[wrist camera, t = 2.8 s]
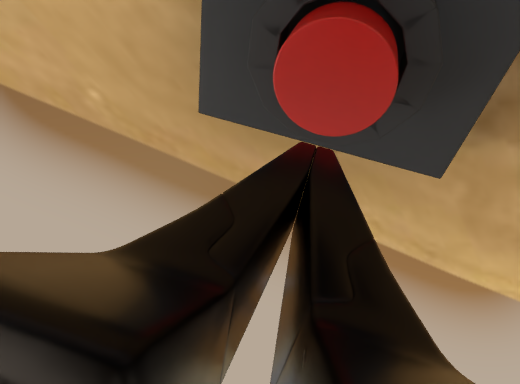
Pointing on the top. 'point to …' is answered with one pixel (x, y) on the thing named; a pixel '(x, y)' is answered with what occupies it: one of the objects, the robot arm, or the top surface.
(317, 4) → the grey button base
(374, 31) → the power button
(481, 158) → the top surface
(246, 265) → the robot arm
